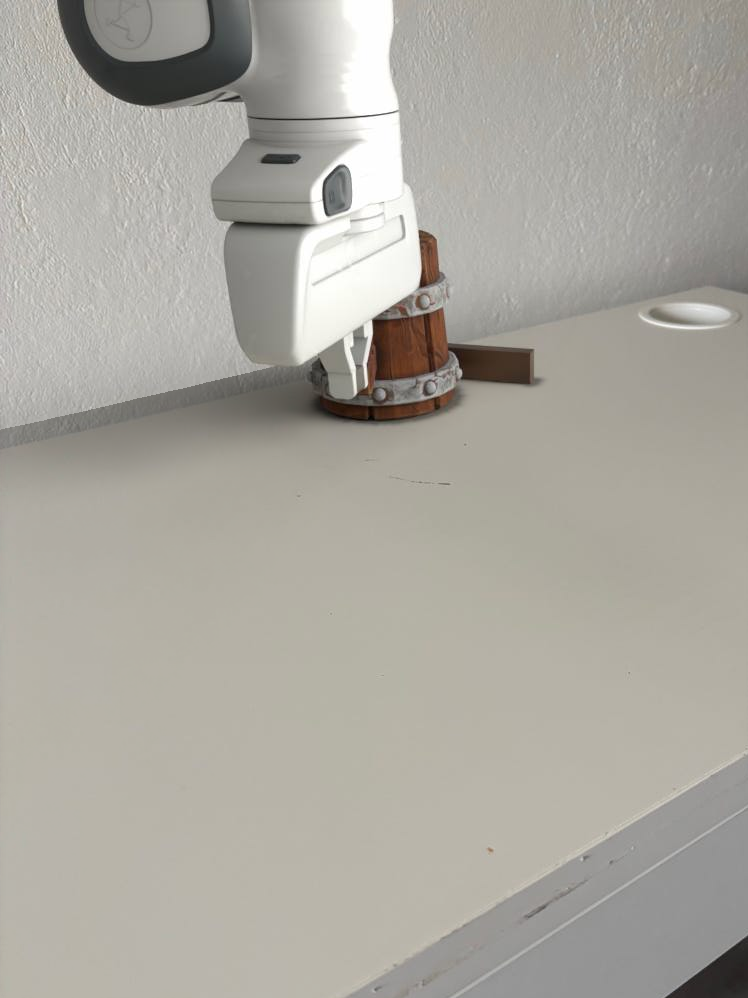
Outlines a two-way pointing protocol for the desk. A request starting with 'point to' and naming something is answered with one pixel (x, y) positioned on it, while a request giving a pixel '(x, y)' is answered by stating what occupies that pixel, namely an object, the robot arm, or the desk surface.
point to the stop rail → (494, 363)
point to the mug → (404, 353)
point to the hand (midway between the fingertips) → (349, 393)
